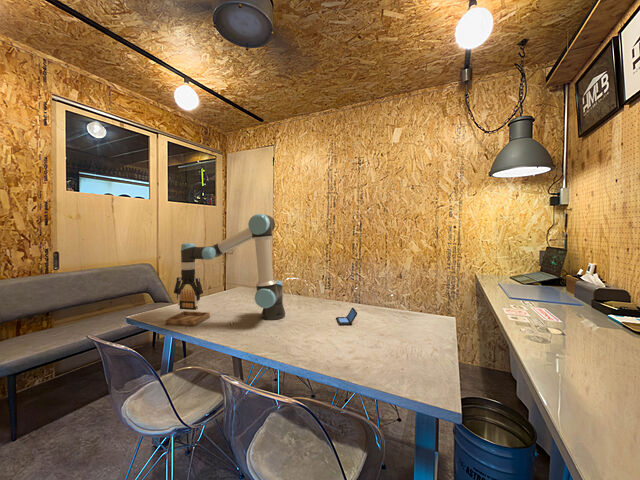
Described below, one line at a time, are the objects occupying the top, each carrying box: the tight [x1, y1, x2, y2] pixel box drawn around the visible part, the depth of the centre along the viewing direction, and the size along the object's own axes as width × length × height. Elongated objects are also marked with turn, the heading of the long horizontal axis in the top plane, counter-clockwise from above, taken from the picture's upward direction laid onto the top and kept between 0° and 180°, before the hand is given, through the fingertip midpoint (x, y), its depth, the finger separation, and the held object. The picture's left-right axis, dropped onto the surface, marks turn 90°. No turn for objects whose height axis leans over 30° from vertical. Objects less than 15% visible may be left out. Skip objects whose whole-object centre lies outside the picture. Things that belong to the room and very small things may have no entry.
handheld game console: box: [335, 306, 358, 327], centre depth 157 cm, size 12×11×7 cm
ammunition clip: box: [179, 288, 199, 311], centre depth 156 cm, size 11×2×12 cm, turn 82°
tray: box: [165, 310, 211, 327], centre depth 157 cm, size 18×16×3 cm
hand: (188, 305), depth 156 cm, fingers closed on ammunition clip, 10 cm apart
